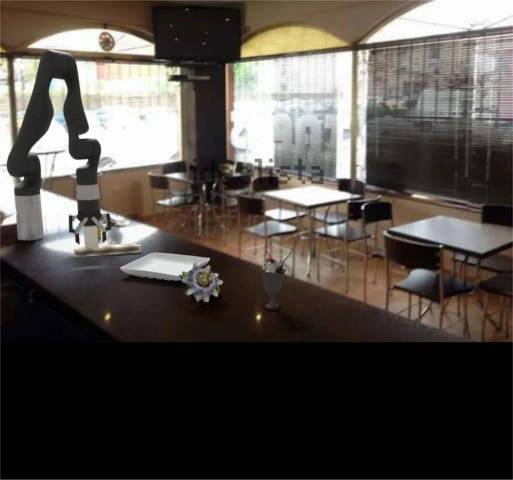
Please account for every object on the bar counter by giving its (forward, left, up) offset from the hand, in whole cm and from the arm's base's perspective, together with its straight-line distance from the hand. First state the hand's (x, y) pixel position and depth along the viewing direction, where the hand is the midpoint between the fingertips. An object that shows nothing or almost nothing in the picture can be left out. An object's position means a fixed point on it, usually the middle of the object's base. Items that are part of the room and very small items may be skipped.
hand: (91, 243), depth 200 cm
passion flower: (+25, -59, -4) cm, 64 cm away
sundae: (+41, -72, -4) cm, 83 cm away
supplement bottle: (+2, +19, -4) cm, 19 cm away
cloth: (+9, +50, -4) cm, 51 cm away
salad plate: (+21, -31, -4) cm, 38 cm away
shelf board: (+5, -1, -4) cm, 6 cm away
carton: (0, 0, -3) cm, 3 cm away
